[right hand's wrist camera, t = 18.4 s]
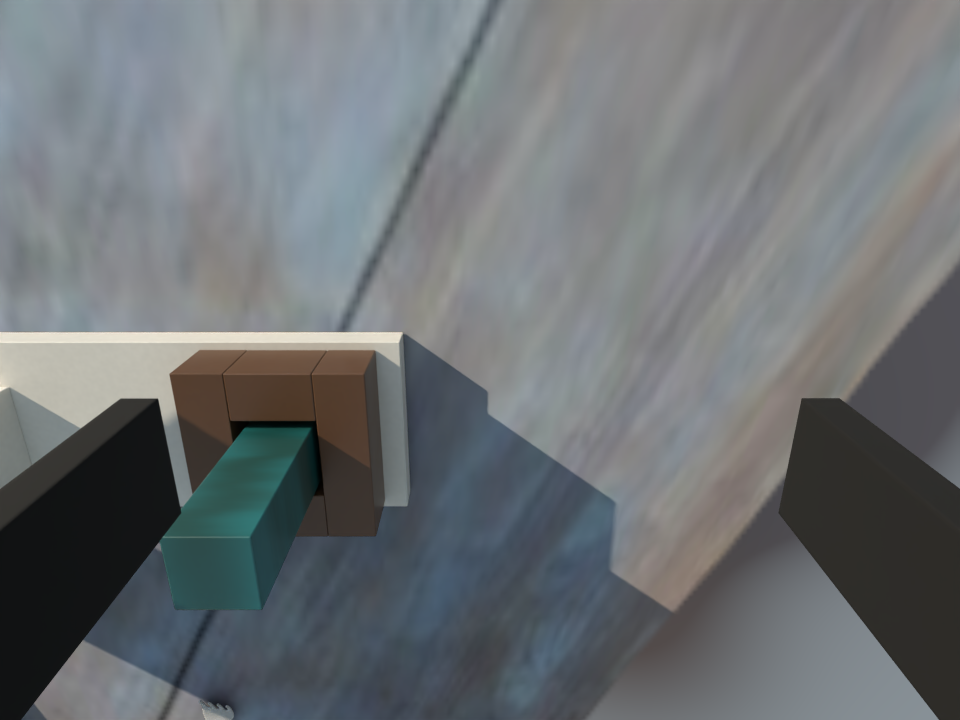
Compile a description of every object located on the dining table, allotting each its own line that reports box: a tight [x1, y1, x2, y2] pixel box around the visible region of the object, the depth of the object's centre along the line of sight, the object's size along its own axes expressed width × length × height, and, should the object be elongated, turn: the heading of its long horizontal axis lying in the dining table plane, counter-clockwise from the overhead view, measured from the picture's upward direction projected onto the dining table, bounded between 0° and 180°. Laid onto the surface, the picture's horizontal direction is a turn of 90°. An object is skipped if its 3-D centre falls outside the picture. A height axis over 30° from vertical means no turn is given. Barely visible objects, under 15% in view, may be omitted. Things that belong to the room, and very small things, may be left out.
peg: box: [160, 421, 322, 610], centre depth 34 cm, size 4×4×14 cm
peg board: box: [0, 332, 410, 536], centre depth 35 cm, size 30×12×14 cm, turn 90°
